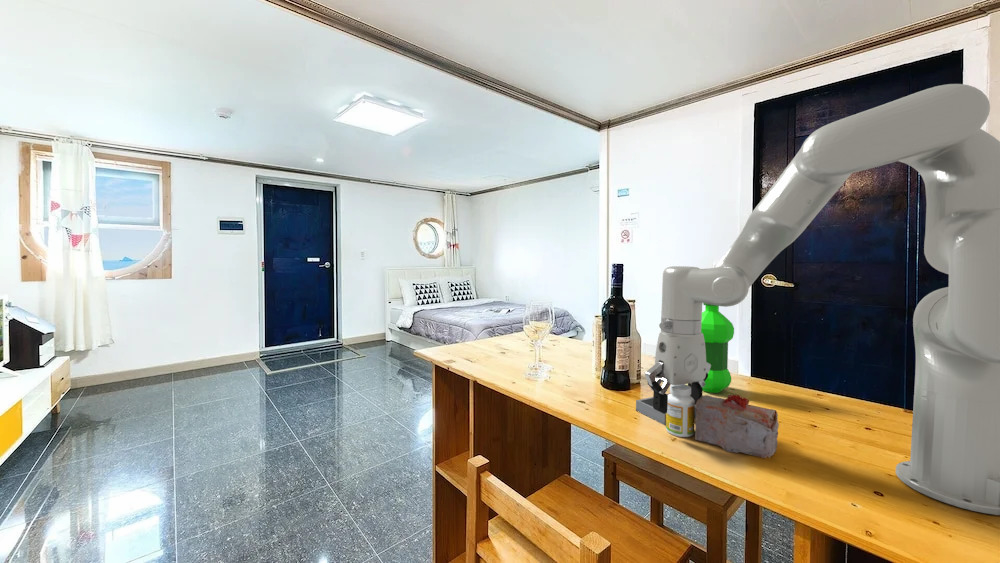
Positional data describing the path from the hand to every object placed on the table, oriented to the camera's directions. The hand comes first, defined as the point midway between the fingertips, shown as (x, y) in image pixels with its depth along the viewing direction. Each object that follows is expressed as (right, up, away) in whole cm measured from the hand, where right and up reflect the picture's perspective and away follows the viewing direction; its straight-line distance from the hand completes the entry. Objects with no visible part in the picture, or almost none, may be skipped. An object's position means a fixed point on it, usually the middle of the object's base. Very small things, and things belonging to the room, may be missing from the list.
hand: (677, 407), depth 80 cm
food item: (+8, -6, -6) cm, 12 cm away
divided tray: (+5, -4, +11) cm, 12 cm away
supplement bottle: (+1, -5, 0) cm, 5 cm away
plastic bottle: (+20, -3, +25) cm, 32 cm away
